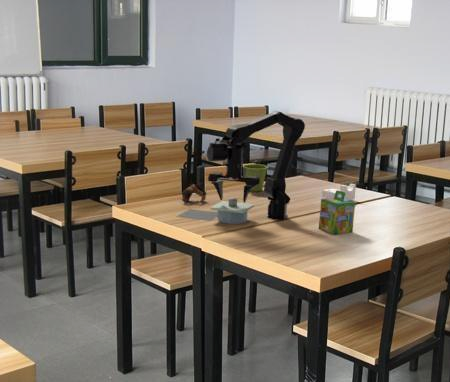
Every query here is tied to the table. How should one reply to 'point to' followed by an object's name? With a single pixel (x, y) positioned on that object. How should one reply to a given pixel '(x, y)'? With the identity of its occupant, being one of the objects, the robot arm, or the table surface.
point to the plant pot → (256, 174)
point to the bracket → (348, 192)
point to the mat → (198, 214)
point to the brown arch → (196, 189)
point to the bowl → (231, 217)
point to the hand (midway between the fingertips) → (232, 201)
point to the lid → (232, 206)
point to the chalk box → (337, 214)
